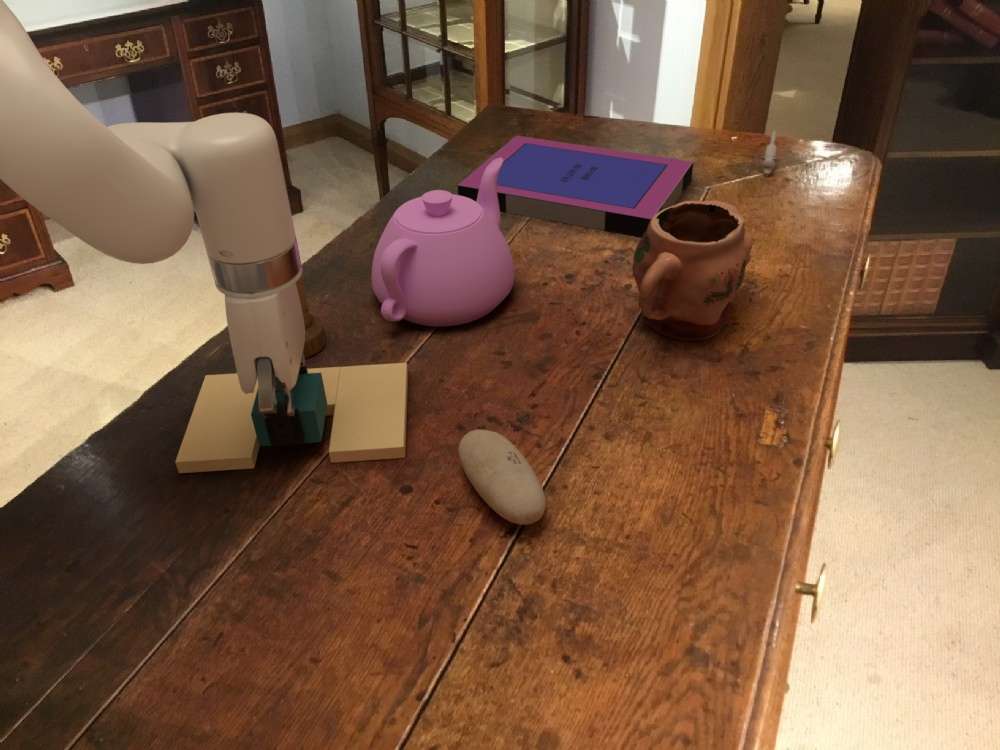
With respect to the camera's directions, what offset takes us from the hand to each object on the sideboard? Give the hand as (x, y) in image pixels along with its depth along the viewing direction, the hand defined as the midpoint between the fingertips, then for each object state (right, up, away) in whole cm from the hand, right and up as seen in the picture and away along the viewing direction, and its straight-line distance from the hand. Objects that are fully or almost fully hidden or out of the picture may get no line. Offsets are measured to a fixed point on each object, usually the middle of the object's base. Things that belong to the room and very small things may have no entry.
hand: (292, 419), depth 84 cm
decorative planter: (+42, +10, +16) cm, 46 cm away
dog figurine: (+63, +37, +51) cm, 89 cm away
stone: (+21, -7, -5) cm, 22 cm away
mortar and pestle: (-3, +8, +16) cm, 18 cm away
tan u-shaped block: (0, 0, +4) cm, 4 cm away
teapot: (+14, +15, +24) cm, 32 cm away
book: (+32, +32, +46) cm, 65 cm away
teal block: (0, 0, 0) cm, 1 cm away
